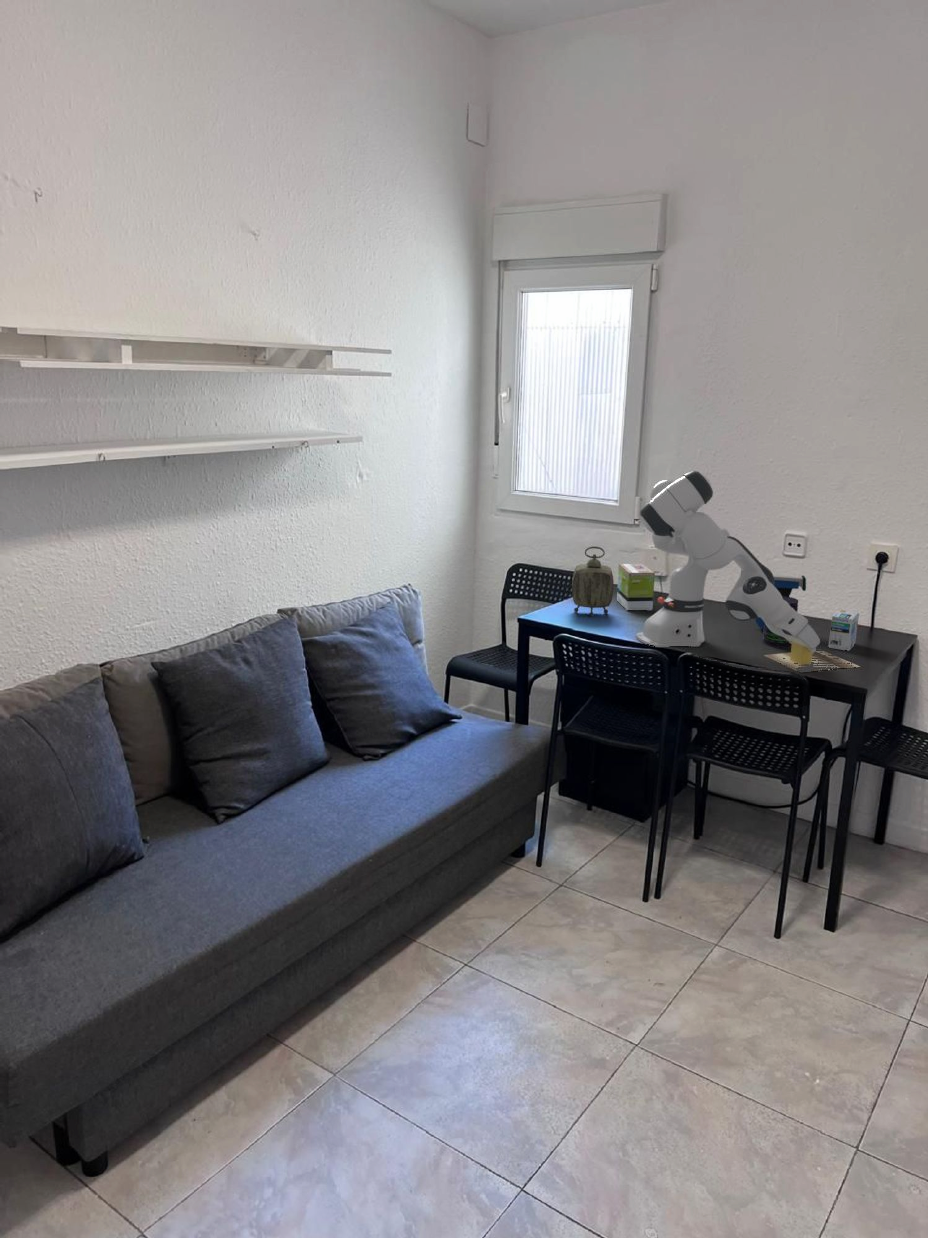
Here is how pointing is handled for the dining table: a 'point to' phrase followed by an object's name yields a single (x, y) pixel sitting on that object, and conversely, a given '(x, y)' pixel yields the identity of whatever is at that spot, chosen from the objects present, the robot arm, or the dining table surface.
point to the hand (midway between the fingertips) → (803, 647)
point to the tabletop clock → (592, 584)
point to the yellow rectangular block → (800, 654)
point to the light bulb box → (843, 630)
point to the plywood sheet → (793, 666)
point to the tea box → (635, 586)
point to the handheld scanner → (785, 589)
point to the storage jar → (775, 639)
